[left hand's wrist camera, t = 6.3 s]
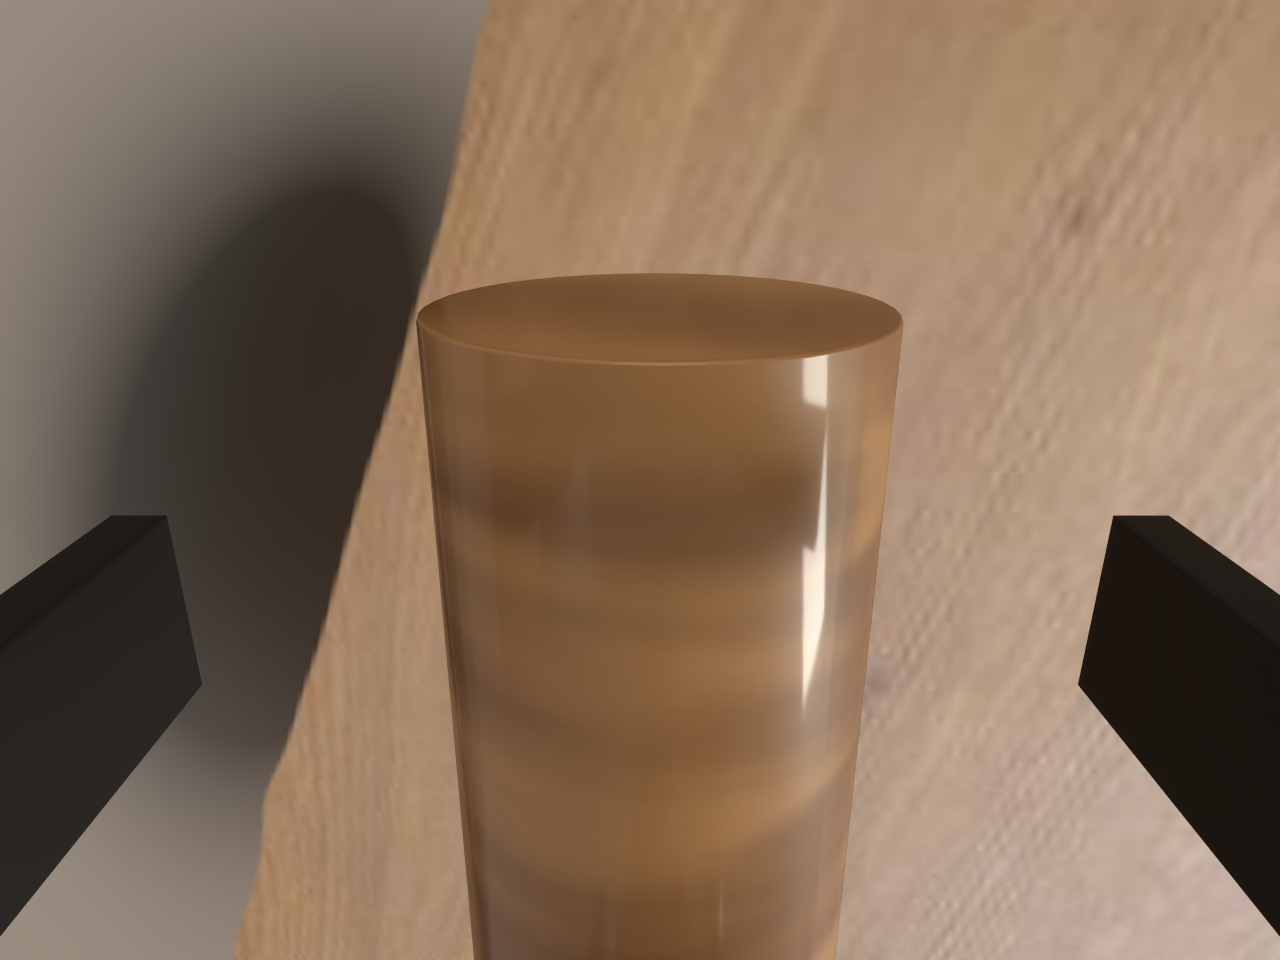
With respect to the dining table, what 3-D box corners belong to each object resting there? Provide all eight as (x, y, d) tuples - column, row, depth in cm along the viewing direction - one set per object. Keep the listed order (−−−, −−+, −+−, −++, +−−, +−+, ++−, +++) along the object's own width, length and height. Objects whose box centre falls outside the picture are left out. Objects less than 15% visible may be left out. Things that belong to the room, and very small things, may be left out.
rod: (468, 272, 19) (347, 360, 11) (846, 273, 19) (977, 363, 11) (523, 1082, 28) (476, 1430, 20) (779, 1084, 28) (827, 1435, 20)
